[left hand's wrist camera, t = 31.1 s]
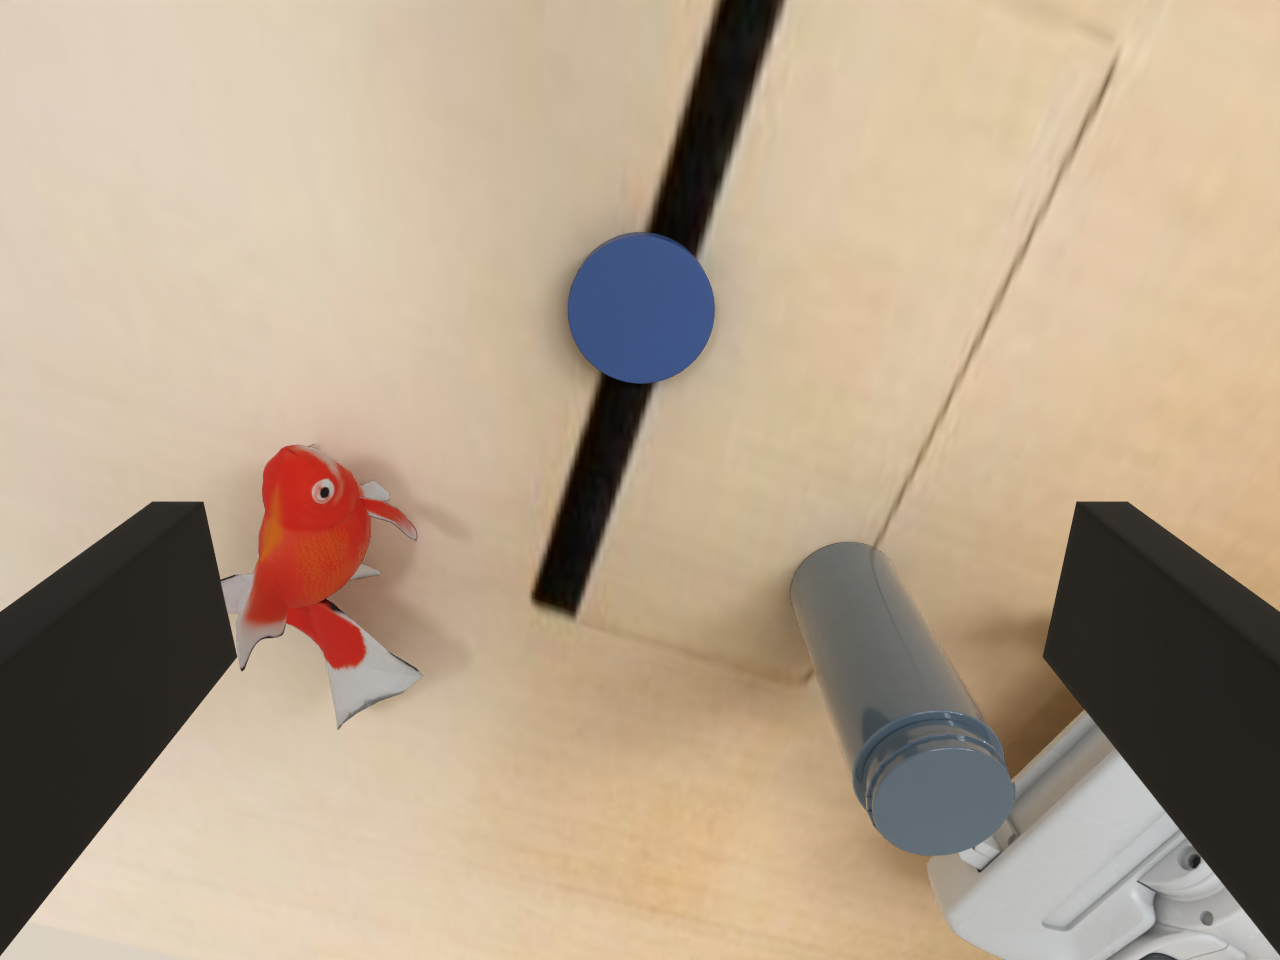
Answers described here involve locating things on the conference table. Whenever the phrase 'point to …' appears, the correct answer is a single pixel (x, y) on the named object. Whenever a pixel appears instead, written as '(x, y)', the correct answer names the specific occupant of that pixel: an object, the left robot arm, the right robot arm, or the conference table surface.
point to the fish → (318, 574)
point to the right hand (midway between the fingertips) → (990, 718)
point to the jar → (899, 706)
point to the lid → (641, 308)
